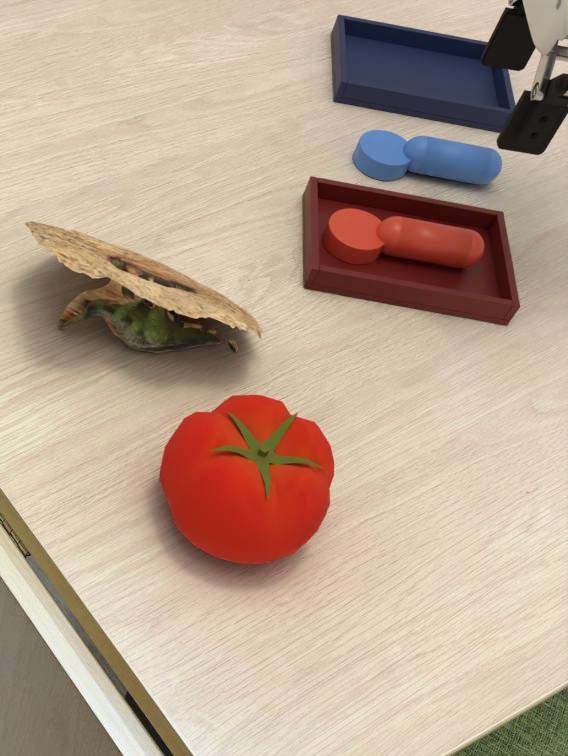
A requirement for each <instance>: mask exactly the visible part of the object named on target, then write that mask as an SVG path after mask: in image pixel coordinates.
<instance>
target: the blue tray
mask: <svg viewBox="0 0 568 756" xmlns="http://www.w3.org/2000/svg"><path fill="white" fill-rule="evenodd" d="M487 43H488V41H484V40H479V39H474V38H468V37H462V36H457V35H453V34H447V33H441V32H436V31H430V30H426V29H419V28H414V27H410V26H409V27H408V26H404V25H398V24H394V23H386V22H383V21H377V20H372V19H366V18H361V17H356V16H351V15H345V14H339V13H338V14H337V16H336V19H335V22H334V25H333V27H332V29H331V32H330V45H331V48H330V49H331V71H332V95H333V102H334V103H335V102H336V103H339V104H340V103H341V104H347V105H352V106H357V107H362V108H368V109H374V110H378V111H383V112H384V111H385V112H389V113H394V114H402V115H404V116H411V117H416V118H422V119H427V120H433V121H437V122H442V123H443V122H444V123H448V124H454V125H459V126H460V125H461V126H463V127H470V128H475V129H480V130H487V131H492V132H495V133H496V132H497V133H501V131H502V129H503V127H504V125H505V124H506V122H507V120H508V118H509V116H510V115H511V113H512V111H513V109H514V108H515V106H516V99H515V95H514V90H513V86H512V82H511V77H510V73H509V72H510V70H508V69H502V68H496V67H490V66H484V65H482V63H481V55H482V53H483V51H484V49H485V47H486V45H487Z"/></svg>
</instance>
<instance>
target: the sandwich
mask: <svg viewBox="0 0 568 756" xmlns="http://www.w3.org/2000/svg"><path fill="white" fill-rule="evenodd" d="M24 225H25V226H26V227H27V228H28V229H29V231H30V233H31V235H32V237H33V238H35V241H36V242H37V244H36V245H38V246H41V247H42V248H44V251H45V252H48V253H49V254H50V255H53V256H56V258H57V261H58V263H62V264H63V265H64V266H65V267H66V268H68V269H69V270H70V271H73V272H74V273H78V274H84V275H87V276H88V277H90V278H91V279H102V278H108V279H109V281H108V282H107V284H105V285H104V286H102V287H98V288H90V289H87V290H85V291H83V292H81V293H80V294H78V295H77V296H76V297H75V298H73V299H72V300H71V301H70V302H69V303H68V304H67V305H66V306H65V307H64V308H63V310H62V311H61V313H60V315H59V318H58V321H57V322H56V323H57V324H56V327H57V329H58V330H64V329H65V328H67V327H69V326H70V325H72V323H73V322H76V321H83V320H87V319H90V318H92V317H95V316H97V317H98V316H99V317H101V318H103V320H104V321H105V323H106V324H107V326H108V327H109V329H110V330H111V332H112V333H113V335H114V336H116V337H117V338H118V339H119V340H120V341H121V342H122V343H124V344H125V345H127V346H128V347H129V348H131V349H132V350H135V351H139V352H140V351H141V352H147V353H148V352H149V353H154V354H160V355H163V354H166V353H171V352H172V353H173V352H180V351H185V350H187V349H190V348H198V347H203V346H213V345H220V344H221V342H222V340H221V338H219V336H216V334H217V333H218V332H217V331H216V329H208V330H207V332H204V331H202V329H203V327H204V326H203V325H202V324H201V323H197V322H194V323H193V322H189V321H186V320H181V319H180V318H179V317H178V316H177V315H176V314H178V315H181V316H186V317H189V318H192V319H197V320H198V319H199V318H203V319H208V318H211V319H213V320H216V321H219V322H220V323H222V324H224V325H228V326H230V328H232V329H234V328H236V327H237V328H238V329H239V330H240V332H243V333H247V334H250V333H251V331H253V333H254V336H257V337H258V338H259V340H260V341H261V340H262V334H264V335H265V334H266V333H265V331H264V330H263V328H262V327H261V326H260V324H259V322H258V321H257V320H256V318H255V317H254V316H253V315H252V313H250V312H249V311H248V310H247V309H245V308H243V307H241V306H240V305H239V304H237V303H236V302H234V301H233V300H231V299H229V298H228V297H227V296H226V295H224V294H222V293H221V292H218V291H216V290H215V289H213V288H211V287H208V286H206V285H204V284H202V283H201V282H198V281H197V280H195V279H192V278H191V277H190V276H188V275H186V274H184V273H183V272H180V271H178V270H176V269H175V268H172V267H170V266H168V265H166V264H164V263H162V262H160V261H157V260H155V259H153V258H150V257H147V256H145V255H143V254H140V253H138V252H135V251H133V250H130V249H127V248H125V247H121V246H119V245H116V244H113V243H110V242H107V241H104V240H101V239H98V238H96V237H93V236H92V235H89V234H86V233H83V232H81V231H77V230H72V229H65V228H63V227H58V226H54V225H51V224H47V223H41V222H37V221H27V222H24ZM145 301H146V302H147V301H149V302H150V303H151V304H147V303H146V302H145ZM225 341H226V344H227V345H228V348H229V350H230V352H231V353H233V354H236V353H237V352H238V348H239V347H238V344H237V343H236V341H235V340H234V339H233V338H226V340H225Z"/></svg>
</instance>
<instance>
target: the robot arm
mask: <svg viewBox="0 0 568 756" xmlns="http://www.w3.org/2000/svg"><path fill="white" fill-rule="evenodd" d="M507 2H508V3H507V4H508V6H509V7H507V6H506V7H504V9H503V11H502V13H501V15H500V17H499V19H498V21H497V23H496V25H495V27H494V29H493V31H492V33H491V35H490V37H489V39H488V41H487V42H488V43H487V45H486V47H485V49H484V51H483V53H482V55H481V63H482V65H484V66H490V67H496V68H502V69H508V71H514V72H515V71H516V72H521V71H523V70H524V69H525V68H526V67H527V65H528V64H529V61H530V59H531V58H532V56H533V54H534V52H535V50H537V51H538V53H539V54H540V57H539V61H538V65H537V69H536V70H535V71H536V72H535V75H534V79H533V83H532V86H531V89H530V90H527V89H524V90H523V92H521V95H520V97H519V99H518V100H517V102H516V103H515V105H516V106H515V108H514V109H513V111H512V113H511V115H510V116H509V118H508V120H507V122H506V124H505V125H504V127H503V129H502V131H501V132H499V134H498V136H497V138H496V146H497V148H498V149H499V150H502V151H503V150H504V151H509V152H510V151H511V152H515V153H522V154H528V155H535V156H539V155H542V154H543V153H544V152H545V151H546V150H547V149H548V147H549V145H550V143H551V142H552V140H553V138H554V137H555V135H556V133H557V132H558V130H559V129H560V127H561V126H562V124H563V122H564V121H565V119H566V117H567V116H568V73H560V74H559V75H557V76H554V77H553V78H552V74H553V71H554V67H555V64H556V61H561V62H566V63H568V46H564V45H559V41H560V42H562V41H564V40H568V0H508V1H507Z"/></svg>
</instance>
